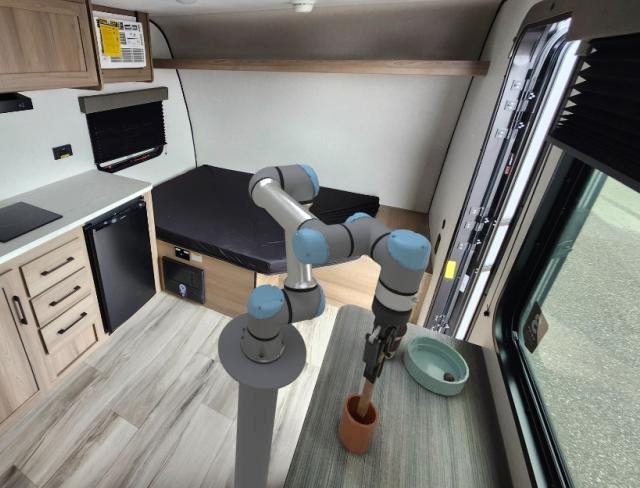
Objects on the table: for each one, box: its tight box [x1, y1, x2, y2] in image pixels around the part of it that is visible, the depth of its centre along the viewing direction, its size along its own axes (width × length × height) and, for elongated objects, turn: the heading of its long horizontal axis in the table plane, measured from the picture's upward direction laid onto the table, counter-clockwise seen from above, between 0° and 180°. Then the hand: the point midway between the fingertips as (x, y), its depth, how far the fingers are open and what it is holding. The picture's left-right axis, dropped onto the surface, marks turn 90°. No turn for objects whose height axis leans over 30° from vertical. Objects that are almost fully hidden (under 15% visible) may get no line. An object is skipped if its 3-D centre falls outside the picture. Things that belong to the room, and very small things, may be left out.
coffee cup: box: [374, 316, 408, 360], centre depth 106 cm, size 10×10×15 cm
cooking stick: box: [357, 352, 385, 418], centre depth 76 cm, size 2×2×22 cm
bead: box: [443, 373, 454, 382], centre depth 98 cm, size 3×3×3 cm
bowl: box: [403, 335, 470, 397], centre depth 101 cm, size 17×17×6 cm
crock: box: [337, 393, 379, 454], centre depth 82 cm, size 8×8×11 cm
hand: (371, 375), depth 75 cm, fingers closed on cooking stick, 2 cm apart
